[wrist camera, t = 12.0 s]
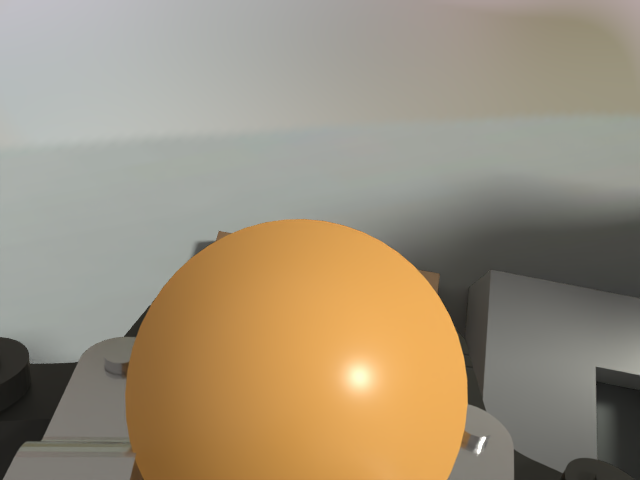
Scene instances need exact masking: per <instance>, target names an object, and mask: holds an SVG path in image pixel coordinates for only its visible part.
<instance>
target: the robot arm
mask: <svg viewBox="0 0 640 480" xmlns="http://www.w3.org/2000/svg"><path fill="white" fill-rule="evenodd" d="M155 299H156V298H155ZM152 303H153V302H152ZM150 306H151V305H150ZM150 306H149V307H148V308H147V309H146V311H145V312H144V313H143V314H142V315H141V317H140V318H139V319H138V320H137V321H136V323H135V324H134V325H133V326H132V327H131V329H130V330H129V331H128V332H127V333H126V335H125V336H124V337H117V338H112V339H108V340H104V341H102V342H99V343H97V344H95V345H93V346H92V347H90V348H89V349H87V350H86V351H85V352H84V353H83V354H82V356H81V358H80V359H79V361H78V362H75V363H55V364H30V363H29V352H28V350H27V348H26V347H25V346H24V345H23V344H22V343H20V342H18V341H16V340H13V339H9V338H2V337H0V480H144V479H143V477H142V475H141V472H140V470H139V468H138V466H137V463H136V460H135V459H136V453H133V450H132V447H131V444H130V439H129V433H128V427H127V421H126V404H125V390H126V380H127V370H128V365H129V361H130V357H131V352H132V348H133V345H134V342H135V339H136V337H137V334H138V331H139V328H140V326H141V324H142V322H143V320H144V318H145V316H146V314H147V312H148V310H149V308H150ZM455 330H456V329H455ZM456 332H457V335H458V337H459V341H460V345H461V348H462V352H463V356H464V361H465V368H466V375H467V395H468V405H467V414H466V423H465V429H464V433H463V438H462V442H461V446H460V450H459V453H458V455H457V458H456V460H455V463H454V466H453V468H452V471H451V473H450V475H449V477H448V479H447V480H635V479H634V478H632V477H631V476H629V475H628V474H627V473H625V472H624V471H622V470H620V469H619V468H617V467H615V466H613V465H611V464H608V463H606V462H603V461H600V460H596V459H592V458H578V459H574V460H572V461H571V462H569V463H568V465H567V466H566V468H565V470H564V472H563V473H561V472H559V471H557V470H555V469H553V468H550V467H548V466H546V465H544V464H541V463H539V462H537V461H535V460H532V459H530V458H528V457H526V456H524V455H523V454H521V453H519V452H518V451H516V450H515V449H514V446H513V441H512V438H511V436H510V434H509V432H508V431H507V429H506V428H505V427H504V426H503V424H502V423H501V422H500V421H498V420H497V419H496V418H495V417H494V416H492V415H491V414H489V413H488V412H486V409H485V405H484V402H483V399H482V395H481V392H480V388H479V385H478V382H477V378H476V375H475V371H474V370H473V365H472V361H471V358H469V351H468V348H467V344H466V341H465V339H464V338H463V337H462V336H461V334H460V333H459V332H458V331H457V330H456Z"/></svg>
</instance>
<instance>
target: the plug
mask: <svg viewBox="0 0 640 480" xmlns="http://www.w3.org/2000/svg"><path fill="white" fill-rule="evenodd" d="M125 404H126V421H127V427H128V433H129V439H130V444H131V447H132V450H133V453H136V459H135V460H136V463H137V466H138V468H139V470H140V472H141V475H142V477H143V479H144V480H447V479H448V477H449V475H450V473H451V471H452V468H453V466H454V463H455V460H456V458H457V455H458V453H459V450H460V446H461V442H462V438H463V433H464V429H465V423H466V414H467V405H468V395H467V375H466V368H465V361H464V356H463V352H462V348H461V345H460V341H459V337H458V335H457V332H456V330H455V327H454V325H453V322H452V320H451V317H450V315H449V313H448V312H447V310H446V308H445V306H444V304H443V303H442V301H441V299H440V297H439V296H438V295H437V293H436V292H435V290H434V289H433V288H432V286H431V285H430V284H429V282H428V281H427V280H426V279H425V277H424V276H423V275H422V274H421V273H420V272H419V271H418V270H417V269H416V268H415V267H414V266H413V265H412V264H411V263H410V262H409V261H408V260H406V259H405V258H404V257H403V256H402V255H400V254H399V253H398V252H397V251H395V250H394V249H392V248H391V247H389V246H388V245H386V244H384V243H383V242H381V241H380V240H378V239H376V238H374V237H372V236H370V235H368V234H366V233H364V232H361V231H358V230H355V229H352V228H350V227H347V226H344V225H339V224H335V223H330V222H326V221H317V220H307V219H295V220H280V221H273V222H266V223H262V224H258V225H254V226H251V227H247V228H244V229H242V230H239V231H237V232H234V233H232V234H229V235H227V236H225V237H223V238H221V239H220V240H218V241H216V242H214V243H212V244H210V245H209V246H207V247H206V248H205V249H203V250H202V251H200V252H199V253H198V254H196V255H195V256H193V257H192V258H191V259H190V260H189V261H188V262H187V263H185V264H184V265H183V266H182V267H181V268H180V269H179V270H178V271H177V272H176V273H175V274H174V275H173V276H172V278H171V279H170V280H169V281H168V282H167V283H166V285H165V286H164V287H163V288H162V290H161V291H160V293H159V294H158V296H157V297H156V299H155V300H154V301H153V303H152V304H151V306H150V308H149V310H148V312H147V314H146V316H145V318H144V320H143V322H142V324H141V326H140V328H139V331H138V334H137V337H136V339H135V342H134V345H133V348H132V352H131V357H130V361H129V365H128V370H127V380H126V390H125Z"/></svg>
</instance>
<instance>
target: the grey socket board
mask: <svg viewBox="0 0 640 480" xmlns="http://www.w3.org/2000/svg"><path fill="white" fill-rule="evenodd" d="M465 341H466V344H467V348H468V351H469V358H471V361H472V365H473V370H474V371H475V375H476V378H477V382H478V385H479V388H480V392H481V395H482V399H483V402H484V405H485V409H486V412H488V413H489V414H491V415H492V416H494V417H495V418H496V419H497V420H498V421H500V422H501V423H502V424H503V426H504V427H505V428H506V429H507V431H508V432H509V434H510V436H511V438H512V441H513V446H514V449H515V450H516V451H518V452H519V453H521V454H523V455H524V456H526V457H528V458H530V459H532V460H535V461H537V462H539V463H541V464H544V465H546V466H548V467H550V468H553V469H555V470H557V471H559V472H561V473H563V472H564V470H565V468H566V466H567V465H568V463H569V462H571V461H572V460H574V459H578V458H592V459H596V460H597V417H596V382H601V383H606V384H611V385H616V386H621V387H626V388H631V389H636V390H640V298H636V297H631V296H626V295H621V294H616V293H610V292H605V291H600V290H595V289H590V288H585V287H579V286H574V285H569V284H564V283H559V282H553V281H548V280H543V279H538V278H533V277H528V276H522V275H517V274H512V273H507V272H502V271H496V270H490V271H489V272H487V273H486V274H485V275H484V276H483V277H481V278H480V279H479V280H478V281H477V282H475V283H474V284H473V285H472V286H471V287H469V294H468V306H467V318H466V331H465Z"/></svg>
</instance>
